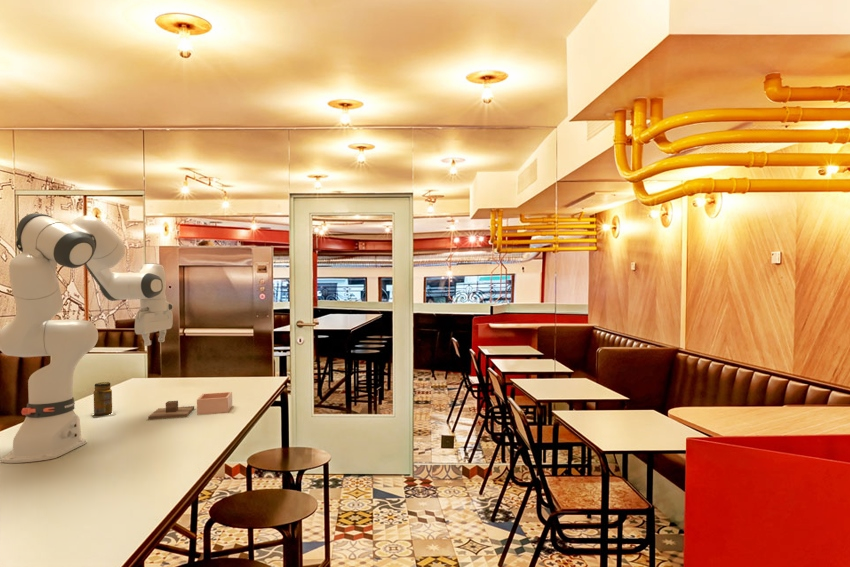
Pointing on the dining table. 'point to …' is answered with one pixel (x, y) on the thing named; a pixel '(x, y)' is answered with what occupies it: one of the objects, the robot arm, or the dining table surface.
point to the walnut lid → (171, 411)
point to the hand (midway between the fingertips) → (154, 343)
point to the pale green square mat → (175, 418)
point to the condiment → (102, 400)
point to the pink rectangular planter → (214, 403)
